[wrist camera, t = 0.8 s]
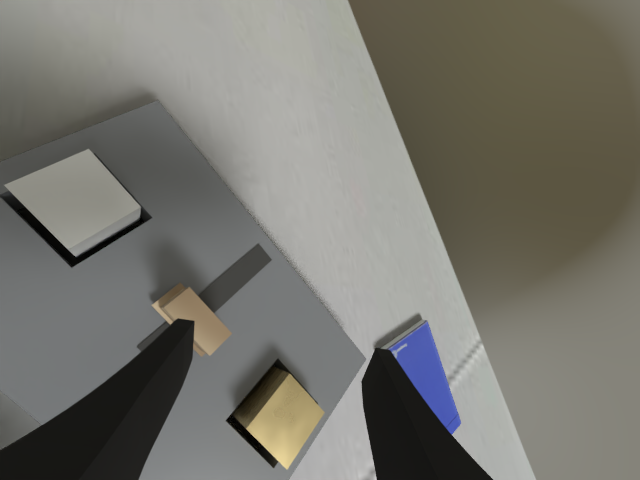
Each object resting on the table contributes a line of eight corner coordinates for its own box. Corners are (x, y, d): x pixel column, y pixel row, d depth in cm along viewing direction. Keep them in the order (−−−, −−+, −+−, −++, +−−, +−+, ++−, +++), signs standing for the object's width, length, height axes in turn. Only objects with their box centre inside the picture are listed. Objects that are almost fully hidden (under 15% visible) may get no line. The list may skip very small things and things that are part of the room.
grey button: (76, 257, 17) (67, 249, 15) (22, 203, 17) (3, 185, 14) (139, 219, 20) (140, 206, 17) (94, 169, 19) (88, 148, 16)
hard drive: (381, 353, 29) (421, 472, 29) (428, 320, 34) (463, 422, 34) (371, 351, 31) (408, 465, 31) (417, 319, 35) (450, 418, 35)
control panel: (214, 544, 20) (226, 579, 17) (-135, 247, 15) (-191, 234, 12) (345, 354, 28) (367, 359, 26) (154, 122, 23) (158, 99, 21)
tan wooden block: (200, 356, 19) (211, 364, 16) (151, 305, 18) (154, 304, 15) (225, 332, 20) (239, 335, 17) (179, 282, 19) (187, 279, 16)
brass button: (268, 450, 21) (287, 469, 19) (231, 414, 20) (246, 428, 18) (303, 401, 23) (324, 412, 21) (272, 366, 22) (289, 373, 20)
